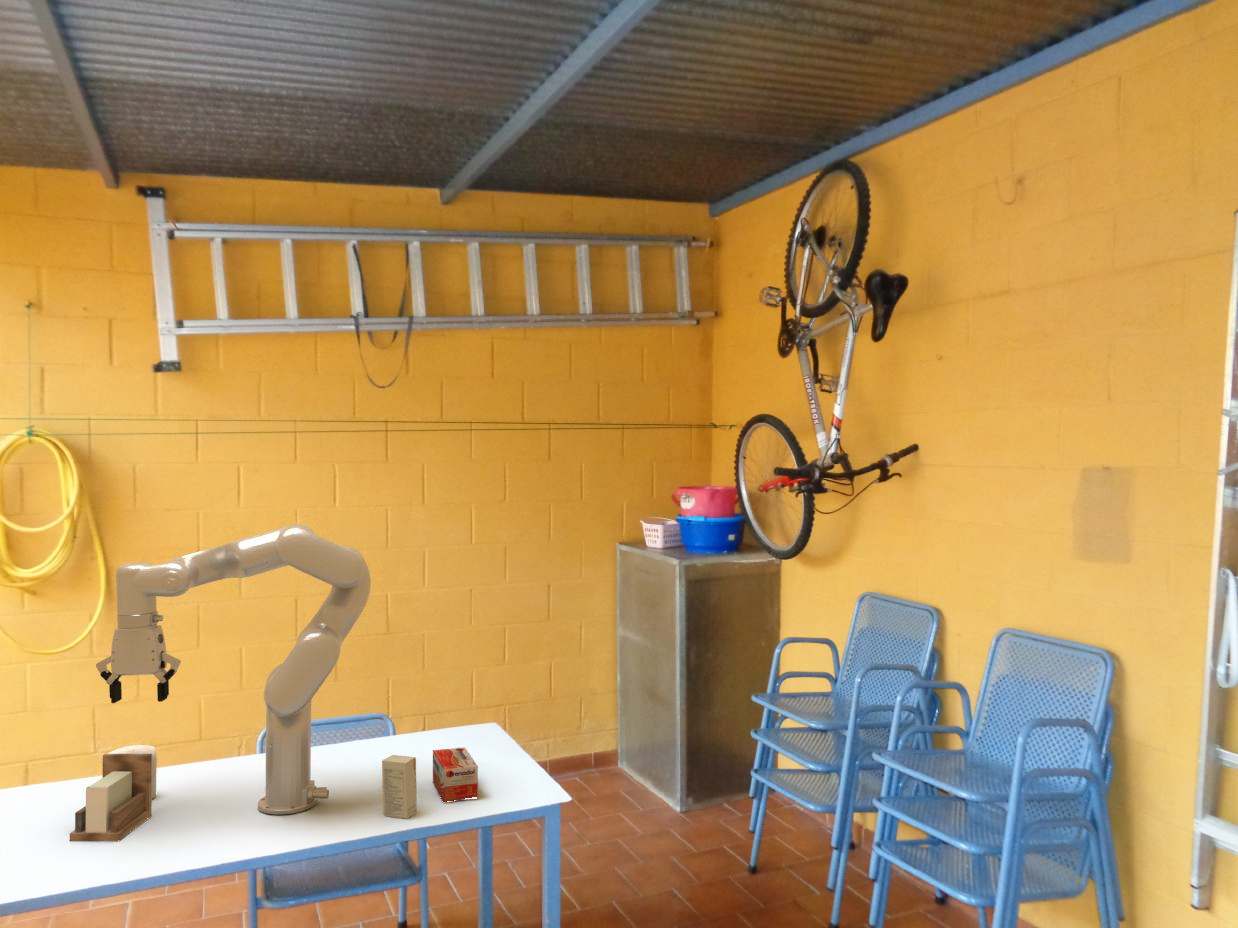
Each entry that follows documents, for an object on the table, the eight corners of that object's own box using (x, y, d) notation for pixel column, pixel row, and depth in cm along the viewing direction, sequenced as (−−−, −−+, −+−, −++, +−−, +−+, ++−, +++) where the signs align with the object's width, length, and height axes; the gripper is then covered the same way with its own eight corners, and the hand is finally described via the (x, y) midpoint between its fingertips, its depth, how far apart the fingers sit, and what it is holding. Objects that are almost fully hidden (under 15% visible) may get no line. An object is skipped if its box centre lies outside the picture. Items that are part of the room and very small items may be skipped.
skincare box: (417, 812, 203) (417, 756, 203) (406, 819, 199) (407, 762, 199) (392, 808, 205) (392, 753, 205) (381, 815, 201) (381, 759, 201)
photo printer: (155, 793, 213) (155, 739, 213) (157, 799, 210) (157, 744, 210) (104, 802, 208) (104, 747, 208) (105, 808, 204) (106, 752, 204)
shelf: (151, 816, 200) (151, 753, 200) (119, 840, 187) (119, 774, 187) (104, 815, 200) (105, 753, 200) (69, 840, 187) (70, 773, 187)
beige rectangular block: (131, 813, 197) (132, 771, 197) (105, 832, 187) (106, 788, 187) (112, 813, 197) (112, 771, 197) (85, 832, 187) (85, 787, 187)
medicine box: (478, 800, 211) (478, 765, 211) (442, 804, 208) (443, 769, 208) (464, 778, 225) (464, 745, 225) (431, 782, 222) (431, 749, 222)
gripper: (186, 616, 202) (188, 694, 202) (105, 619, 201) (107, 697, 201) (170, 623, 194) (173, 704, 194) (86, 625, 194) (89, 706, 194)
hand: (139, 700), depth 198 cm, fingers open, 9 cm apart
